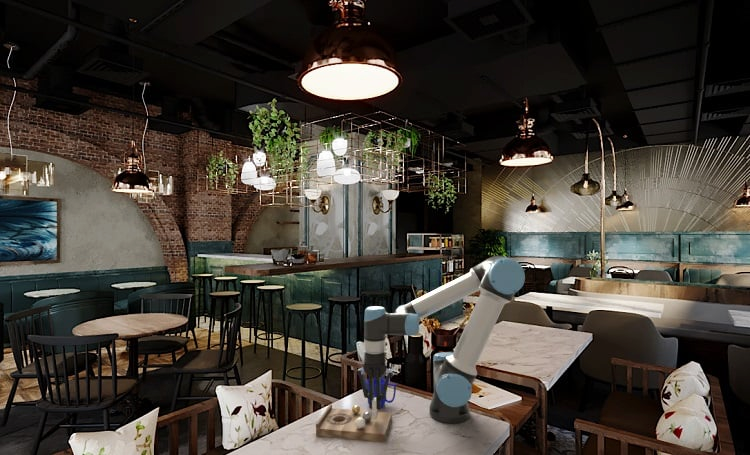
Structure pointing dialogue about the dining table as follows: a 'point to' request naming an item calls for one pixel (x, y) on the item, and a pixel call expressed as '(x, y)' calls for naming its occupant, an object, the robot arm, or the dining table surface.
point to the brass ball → (356, 409)
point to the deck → (352, 425)
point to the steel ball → (367, 416)
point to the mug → (381, 391)
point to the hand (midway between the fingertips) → (374, 417)
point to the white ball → (360, 422)
